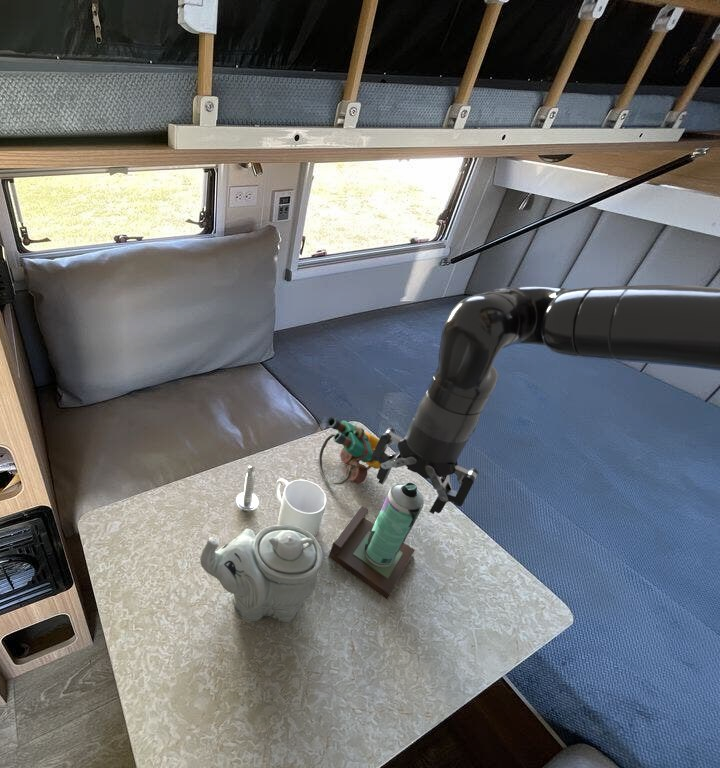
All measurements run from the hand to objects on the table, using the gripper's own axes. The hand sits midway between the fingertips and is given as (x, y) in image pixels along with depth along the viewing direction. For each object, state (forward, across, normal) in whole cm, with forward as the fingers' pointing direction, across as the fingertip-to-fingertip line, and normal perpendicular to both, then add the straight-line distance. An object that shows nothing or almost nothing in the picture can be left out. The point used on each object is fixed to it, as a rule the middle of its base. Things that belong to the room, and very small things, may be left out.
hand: (406, 495), depth 68 cm
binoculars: (+20, -15, +17) cm, 30 cm away
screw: (+20, -26, -8) cm, 34 cm away
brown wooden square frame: (+20, -1, 0) cm, 20 cm away
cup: (+20, -17, -4) cm, 27 cm away
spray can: (+18, 0, 0) cm, 18 cm away
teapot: (+20, -13, -22) cm, 32 cm away
